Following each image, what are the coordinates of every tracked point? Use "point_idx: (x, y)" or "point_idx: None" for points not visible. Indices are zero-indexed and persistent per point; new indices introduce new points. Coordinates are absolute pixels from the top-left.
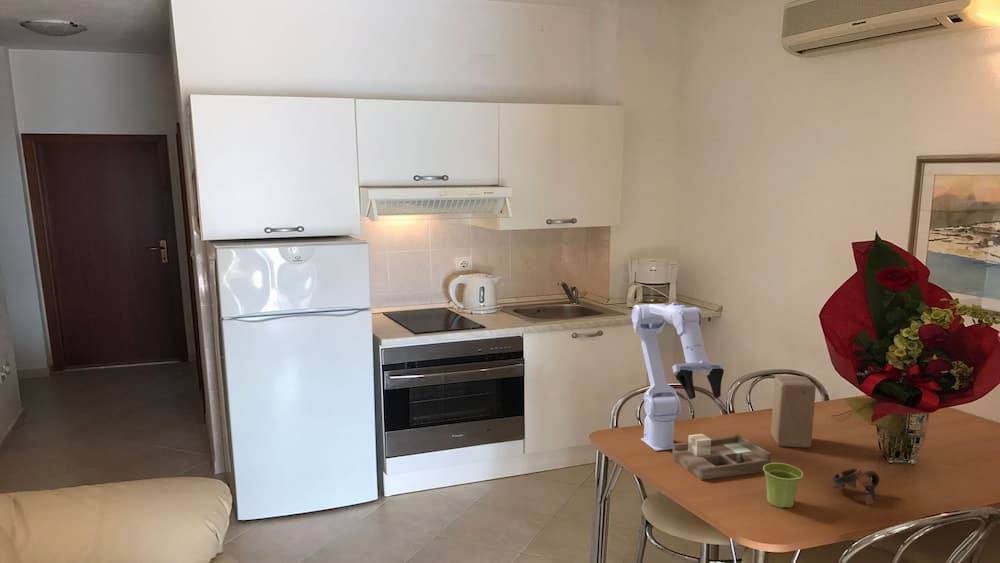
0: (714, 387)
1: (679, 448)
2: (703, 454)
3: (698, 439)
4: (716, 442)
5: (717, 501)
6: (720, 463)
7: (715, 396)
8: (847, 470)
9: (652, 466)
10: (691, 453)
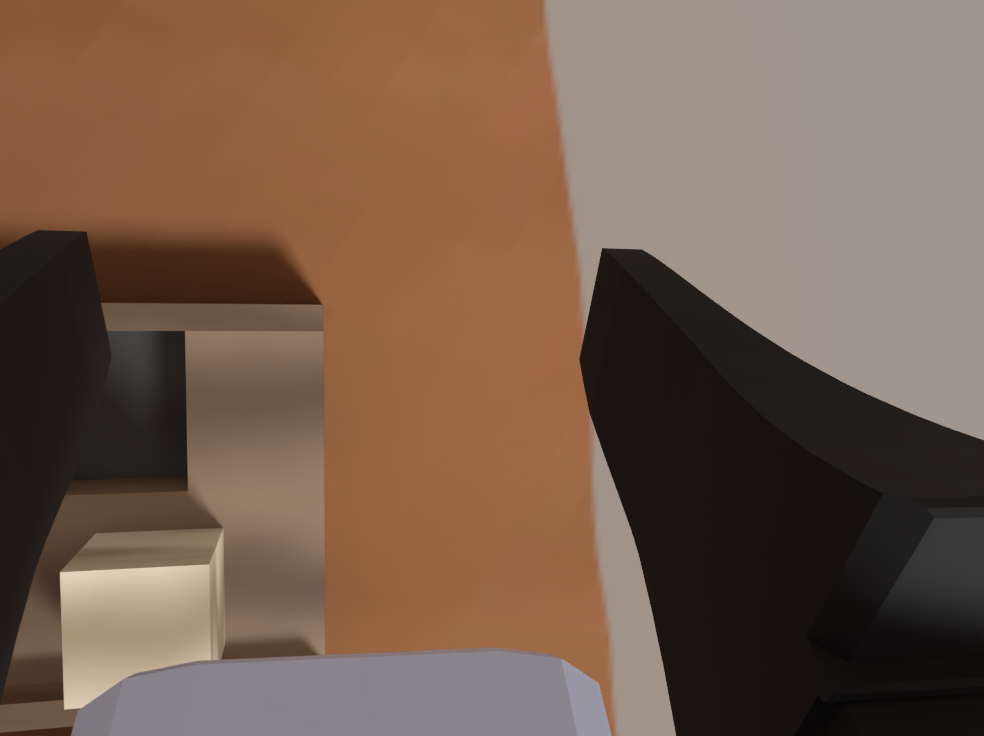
0: (26, 438)
1: None
2: (159, 531)
3: (177, 594)
4: None
5: (392, 17)
6: None
7: (99, 333)
8: None
9: (510, 572)
10: (233, 580)
